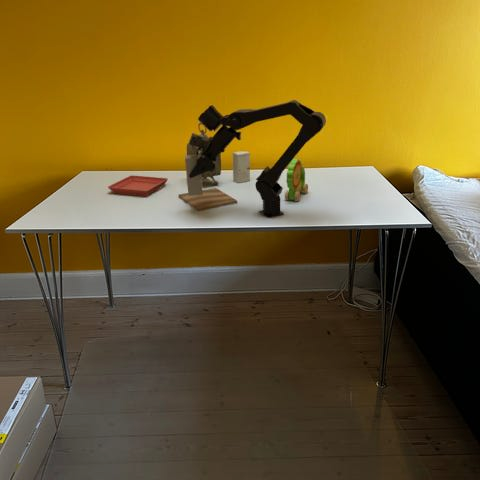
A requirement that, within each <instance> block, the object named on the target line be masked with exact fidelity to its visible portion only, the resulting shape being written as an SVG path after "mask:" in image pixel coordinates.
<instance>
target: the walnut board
mask: <svg viewBox="0 0 480 480" xmlns="http://www.w3.org/2000/svg"><path fill="white" fill-rule="evenodd" d="M178 198H179V199H181V201H183V202H184V203H186V204H187V205H188V206H190V207H191V208H192V209H194V210H195V211H197V212H199V211H205V210H208V209H214V208H218V207H225V206H229V205H234V204H238V200H237V199H235V198H234V197H232V196H230V195H229V194H227V193H225V192H224V191H222V190H221V189H219V188H217V187H212V188H206V189H203V195H193V196H188V192H186V193H181V194H178Z"/></svg>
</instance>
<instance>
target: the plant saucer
mask: <svg viewBox="0 0 480 480" xmlns="http://www.w3.org/2000/svg"><path fill="white" fill-rule="evenodd" d="M167 182H168V177H167V178H166V177H155V176H145V175H143V176H142V175H134V174H133V175H132V174H131V175H128V176H127V177H125V178H122V179H120V180H119V181H116V182H114V183H112V184H111V185H108V186H107V189H109V190H110V191H111V192H113V193H114V194H119V195H128V194H129V195H131V196H138V195H139V196H140V197H147V196H149V195H150V194H152V193H154V192H155V191H157V190H159V189H161V188H162V187H164V185H166V183H167ZM129 195H128V196H129ZM139 196H138V197H139Z"/></svg>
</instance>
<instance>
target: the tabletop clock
mask: <svg viewBox="0 0 480 480" xmlns="http://www.w3.org/2000/svg"><path fill="white" fill-rule="evenodd" d="M201 125H202V126H203V127H204V129H205V130H204V129H200V126H201ZM207 130H208V129H207V128H206V127H205V126H204V125H203V124H202V123H201V122H199V124H198V131H199V132H200V134H198V135H199V136H202V137H204V138H206V139H209V137H210V136H208V134H206V133H207ZM196 151H198V152H199V151H200V150H197V147H196V146H192V145H190V144H189V142H187V144H186V155H196ZM221 174H222V153H221V154H220V155H219V156H218V157H217V160H216V161H215V169H214V170H213V171H212V172H210V171H207V172H204V173H202V174H201V176H202V180H206V179H207V178H210V179H212V181H213V184H214V186H218V185H219V183H218V181H216V180H215V177H217V176H218V177H219V176H221Z"/></svg>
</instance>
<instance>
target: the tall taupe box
mask: <svg viewBox="0 0 480 480" xmlns="http://www.w3.org/2000/svg"><path fill="white" fill-rule="evenodd" d="M198 156H199V155H187V154H186V155H185V156H184V163H185V172H186V174H185V175H186V183H187V193H188V196H193V195H203V190H204V189H203V178H202V176H201V174H199V175H197V176H195V177H193V178H190V177H189V175H190V173H191V171H192V170H193V168H194V167H195V165H196V163H197V161H196V157H198Z"/></svg>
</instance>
